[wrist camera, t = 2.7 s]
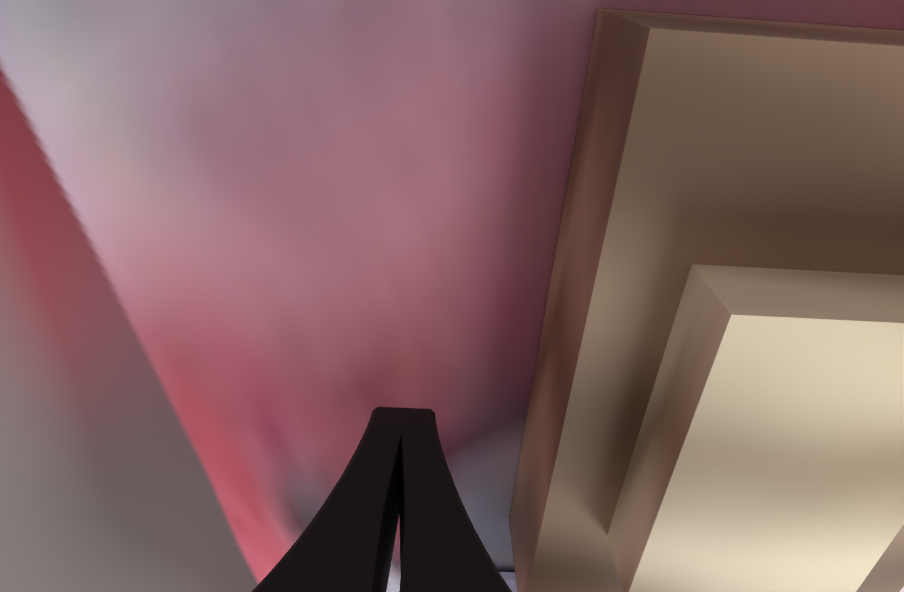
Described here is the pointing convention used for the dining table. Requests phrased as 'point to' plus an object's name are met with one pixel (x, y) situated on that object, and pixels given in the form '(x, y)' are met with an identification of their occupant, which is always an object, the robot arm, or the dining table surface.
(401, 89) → the dining table surface
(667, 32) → the brown shallow box
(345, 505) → the robot arm
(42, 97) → the dining table surface
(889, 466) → the tile
